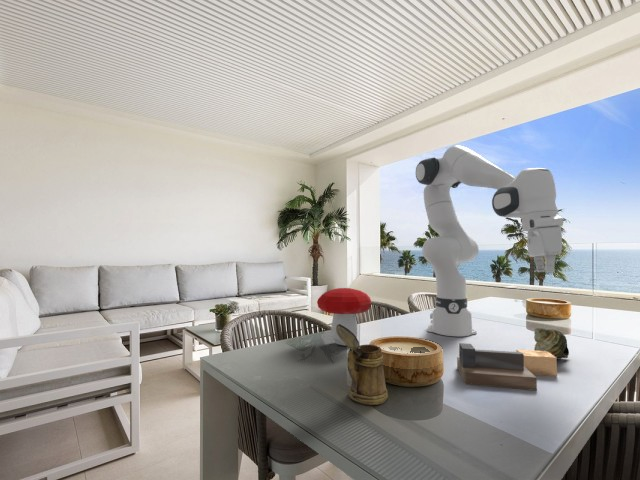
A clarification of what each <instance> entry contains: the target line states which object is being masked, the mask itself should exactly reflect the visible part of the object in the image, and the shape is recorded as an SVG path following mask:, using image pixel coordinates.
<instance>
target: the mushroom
mask: <svg viewBox="0 0 640 480" xmlns="http://www.w3.org/2000/svg"><path fill="white" fill-rule="evenodd" d="M316 303H317V307H318V308H319V309H320V310H321V311H323V312H325V313H328V314H333V317H332V321H331V326H330V327H331V338H332V339H333V341H334V342H335V343H336V344H337V345H340V346H347V345H346V344H345V343H344V342H343V341H342V340H341V339H340V337H339V336H338V334H337V331H336V326H337V325H338V324H340V325H342V326H344V327H346V328H347V329H349V330H350V331H351V332H352V333H353V334H354V335H355V336H356V338H357V339H358V322H357V316H356V315H357V314H362V313H366V312H367V311H369V310H370V308H371V304H372V299H371V297H370V296H369V295H368V294H367V293H366V292H364V291H361V290H358V289H354V288H350V287H338V288H333V289H329V290H327V291H325V292H323V293H322V294H321V295H320V296H319V298H317V302H316Z"/></svg>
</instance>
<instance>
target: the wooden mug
mask: <svg viewBox="0 0 640 480" xmlns="http://www.w3.org/2000/svg"><path fill="white" fill-rule="evenodd" d="M336 331H337V334H338V336H339V337H340V339H341V340H342V341H343V342H344V343H345V344H346V345H345V346H347V348H349V350H348V353H347V358H346V359H347V360H346V367H347V371H348V373H349V377H350V378H351V384H350V386H349V391H348V397H349V399H351V400H352V401H353V402H355V403H356V404H359V405H364V406H378V405H382V404H384V403H385V402H387V401H388V399H389V392H388V389H387V387H386V379H385V372H384V362H385V361H384V355H383V354H382V348H381V347H380V346H379V345H378V346H377V345H376V344H375V345H374V344H361V345H360V341H359V340H358V337H357V338H356V336H355V335H354V334H353V333H352V332H351V331H350V330H349V329H347V328H346V327H344V326H342V325H340V324H338V325H337V326H336Z"/></svg>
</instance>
